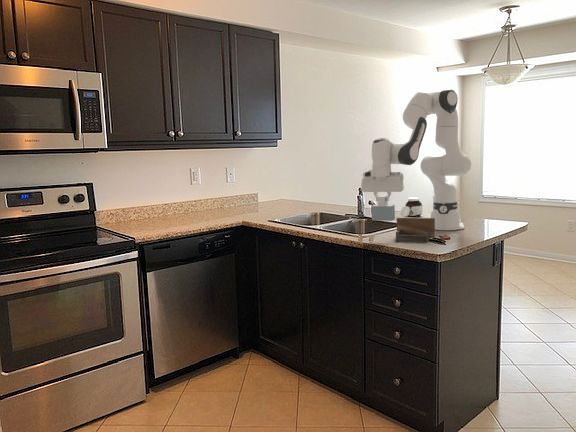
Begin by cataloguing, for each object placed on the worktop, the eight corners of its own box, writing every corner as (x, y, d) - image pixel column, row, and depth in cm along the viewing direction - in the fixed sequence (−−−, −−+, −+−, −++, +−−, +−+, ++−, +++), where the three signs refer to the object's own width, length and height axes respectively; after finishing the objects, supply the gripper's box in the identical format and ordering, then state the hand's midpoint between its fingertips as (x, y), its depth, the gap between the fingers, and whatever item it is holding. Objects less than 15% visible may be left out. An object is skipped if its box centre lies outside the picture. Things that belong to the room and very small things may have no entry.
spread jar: (424, 215, 293) (423, 197, 292) (416, 218, 285) (416, 199, 283) (406, 215, 301) (405, 197, 299) (398, 217, 292) (398, 199, 290)
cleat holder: (398, 236, 233) (397, 217, 232) (435, 238, 225) (434, 218, 223) (392, 241, 225) (391, 220, 223) (430, 242, 216) (430, 221, 214)
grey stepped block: (375, 218, 232) (374, 195, 230) (395, 218, 227) (394, 195, 226) (371, 220, 227) (370, 197, 225) (391, 221, 222) (390, 197, 220)
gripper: (405, 171, 221) (405, 200, 224) (363, 172, 231) (364, 200, 233) (401, 172, 216) (402, 202, 218) (359, 173, 226) (360, 201, 228)
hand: (382, 201), depth 226 cm, fingers closed on grey stepped block, 3 cm apart
